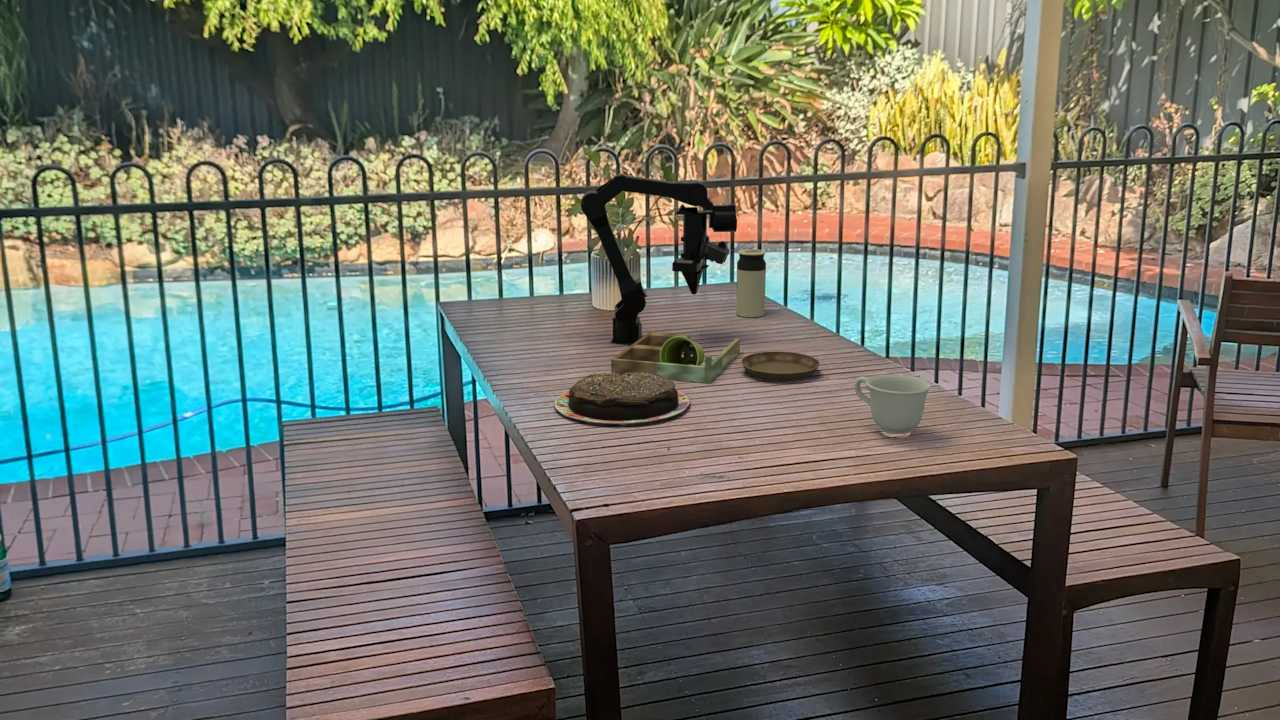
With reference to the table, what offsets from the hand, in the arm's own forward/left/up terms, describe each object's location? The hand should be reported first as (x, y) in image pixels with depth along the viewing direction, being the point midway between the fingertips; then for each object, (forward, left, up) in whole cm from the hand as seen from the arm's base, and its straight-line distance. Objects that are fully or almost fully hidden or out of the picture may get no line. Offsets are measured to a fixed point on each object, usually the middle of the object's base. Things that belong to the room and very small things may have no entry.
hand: (694, 294), depth 272 cm
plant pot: (+7, -25, -9) cm, 27 cm away
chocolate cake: (+1, -57, -13) cm, 59 cm away
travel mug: (+7, +33, -12) cm, 36 cm away
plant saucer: (+27, -23, -12) cm, 38 cm away
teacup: (+55, -57, -12) cm, 80 cm away
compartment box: (+2, -22, -12) cm, 25 cm away
